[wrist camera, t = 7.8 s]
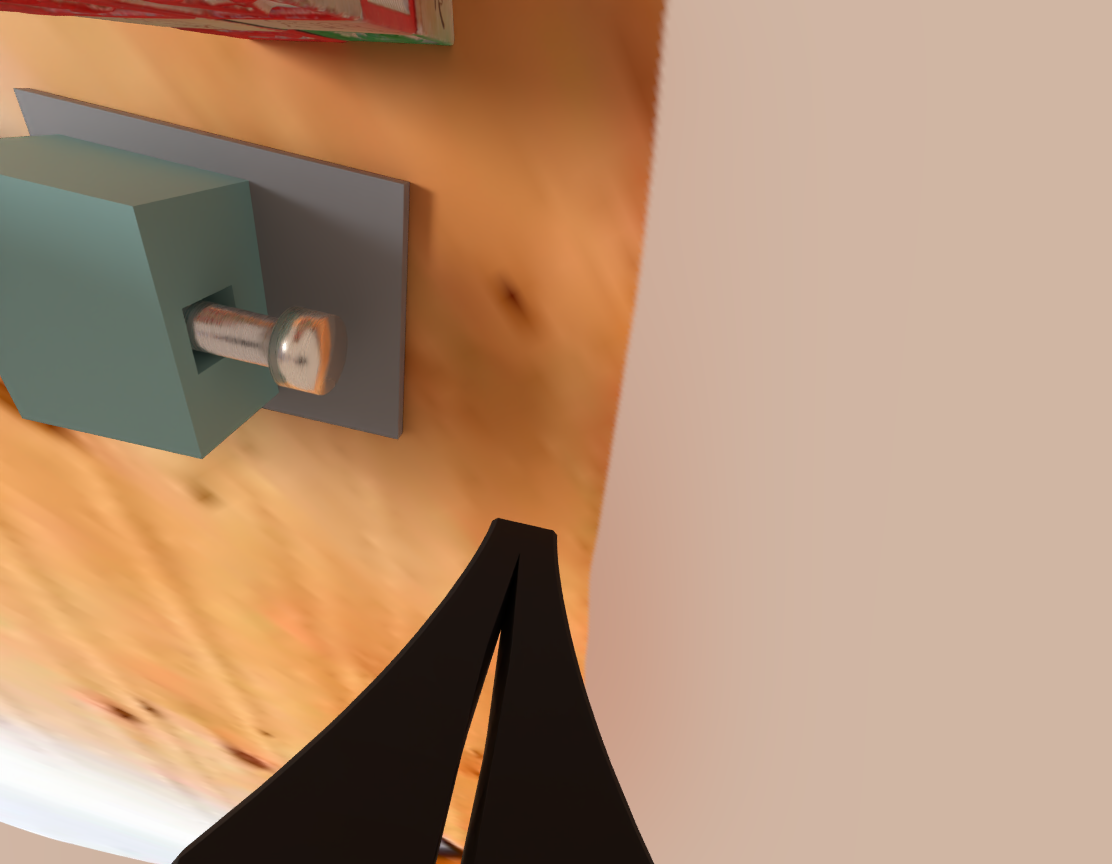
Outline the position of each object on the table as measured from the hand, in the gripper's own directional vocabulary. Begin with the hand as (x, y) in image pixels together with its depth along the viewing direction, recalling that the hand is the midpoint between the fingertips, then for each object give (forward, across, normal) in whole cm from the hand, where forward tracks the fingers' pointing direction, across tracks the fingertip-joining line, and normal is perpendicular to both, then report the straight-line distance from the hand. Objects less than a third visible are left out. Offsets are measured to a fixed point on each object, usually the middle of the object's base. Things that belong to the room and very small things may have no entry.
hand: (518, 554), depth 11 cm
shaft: (+8, +13, 0) cm, 15 cm away
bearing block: (+9, +12, 0) cm, 15 cm away
